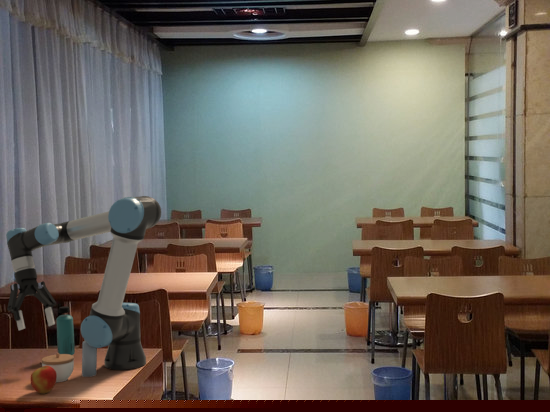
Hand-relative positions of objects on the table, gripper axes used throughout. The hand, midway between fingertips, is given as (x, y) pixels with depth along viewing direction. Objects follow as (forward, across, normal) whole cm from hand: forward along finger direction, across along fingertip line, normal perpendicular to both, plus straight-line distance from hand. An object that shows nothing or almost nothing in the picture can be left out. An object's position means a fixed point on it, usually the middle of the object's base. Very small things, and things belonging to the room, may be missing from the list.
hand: (37, 327), depth 260 cm
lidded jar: (+20, +1, +6) cm, 21 cm away
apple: (+24, +14, +12) cm, 30 cm away
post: (+22, -8, +11) cm, 25 cm away
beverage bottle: (+12, -21, -12) cm, 27 cm away
